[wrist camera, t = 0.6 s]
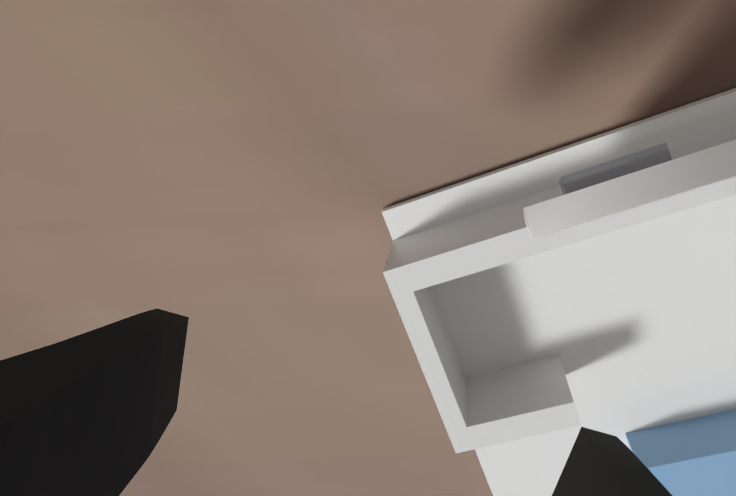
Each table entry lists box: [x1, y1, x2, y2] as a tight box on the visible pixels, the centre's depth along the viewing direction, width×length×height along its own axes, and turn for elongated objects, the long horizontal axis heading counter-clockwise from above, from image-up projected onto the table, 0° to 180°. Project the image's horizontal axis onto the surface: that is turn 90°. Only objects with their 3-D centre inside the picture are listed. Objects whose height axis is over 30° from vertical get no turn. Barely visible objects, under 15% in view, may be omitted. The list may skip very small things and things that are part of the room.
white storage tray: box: [382, 88, 736, 496], centre depth 18 cm, size 15×14×3 cm
